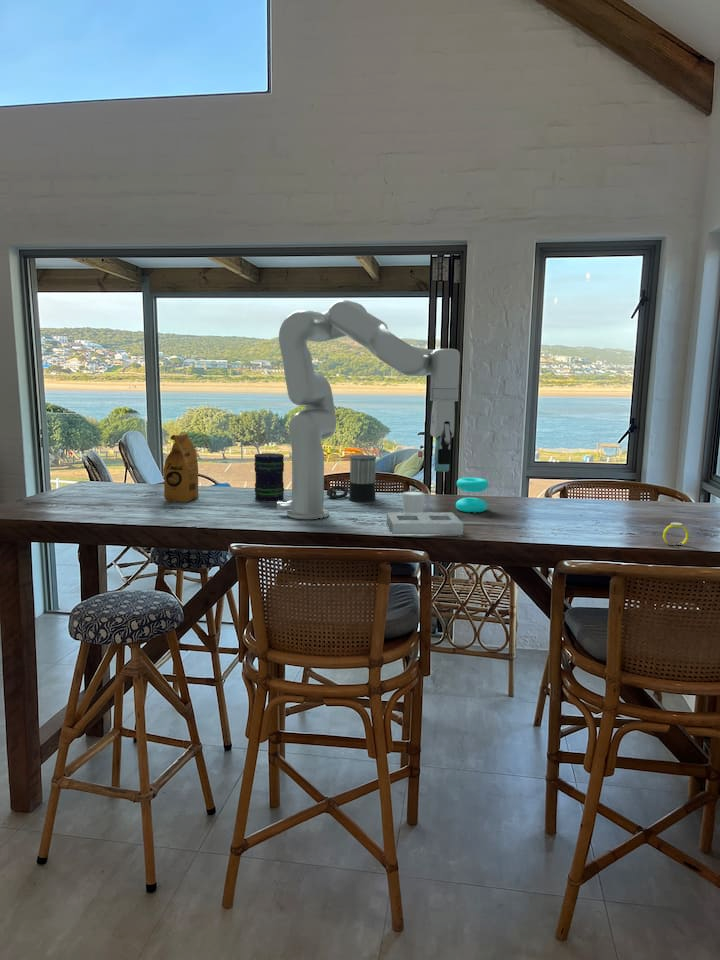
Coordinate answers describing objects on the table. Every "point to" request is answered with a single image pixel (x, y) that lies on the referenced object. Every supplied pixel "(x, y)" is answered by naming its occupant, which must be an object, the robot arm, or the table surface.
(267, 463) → the storage jar
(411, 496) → the grey cup
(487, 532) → the table surface
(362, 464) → the milk frother
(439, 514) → the block
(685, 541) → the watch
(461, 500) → the donuts
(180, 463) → the coffee package
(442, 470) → the peg
